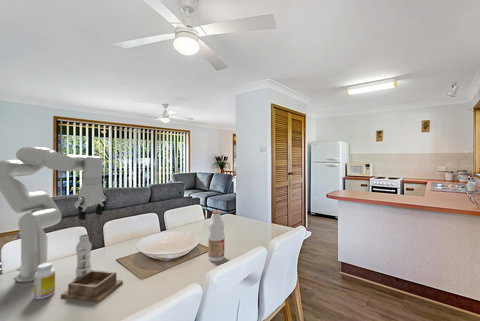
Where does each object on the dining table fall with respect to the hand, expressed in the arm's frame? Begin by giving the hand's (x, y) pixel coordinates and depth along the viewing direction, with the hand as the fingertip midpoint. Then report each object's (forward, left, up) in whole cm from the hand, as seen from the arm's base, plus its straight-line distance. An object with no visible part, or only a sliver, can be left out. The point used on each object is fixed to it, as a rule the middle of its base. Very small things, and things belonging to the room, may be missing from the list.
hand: (90, 216), depth 107 cm
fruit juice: (+54, +32, -30) cm, 70 cm away
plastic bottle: (-5, +1, -30) cm, 30 cm away
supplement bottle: (-8, -15, -30) cm, 34 cm away
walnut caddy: (+9, -8, -30) cm, 32 cm away
